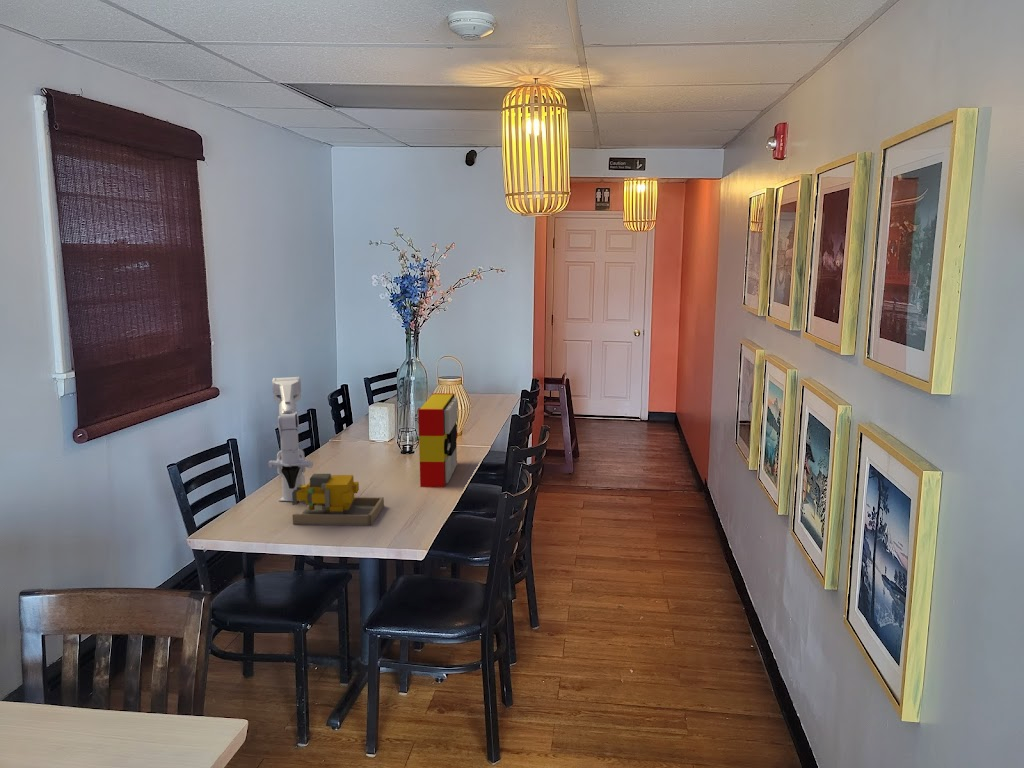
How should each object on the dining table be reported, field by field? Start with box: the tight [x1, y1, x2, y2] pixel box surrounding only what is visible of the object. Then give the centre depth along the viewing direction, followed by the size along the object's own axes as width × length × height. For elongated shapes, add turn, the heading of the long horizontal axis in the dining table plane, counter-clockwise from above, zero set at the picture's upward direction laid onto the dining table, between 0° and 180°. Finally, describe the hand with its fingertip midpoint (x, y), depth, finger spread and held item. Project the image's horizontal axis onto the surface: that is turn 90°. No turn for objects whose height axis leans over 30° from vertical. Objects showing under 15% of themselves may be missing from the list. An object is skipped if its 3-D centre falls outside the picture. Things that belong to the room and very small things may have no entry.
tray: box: [292, 496, 385, 526], centre depth 261 cm, size 19×26×3 cm
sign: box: [417, 392, 459, 488], centre depth 305 cm, size 33×11×30 cm, turn 176°
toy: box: [292, 473, 360, 515], centre depth 261 cm, size 14×13×20 cm
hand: (292, 487), depth 261 cm, fingers closed
